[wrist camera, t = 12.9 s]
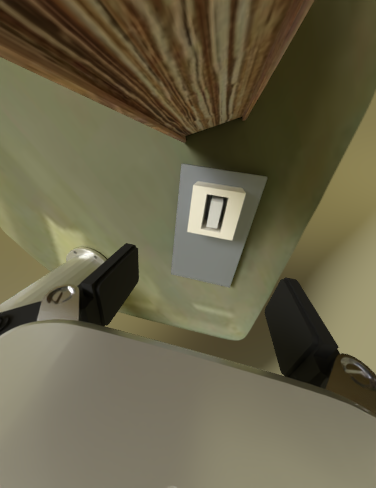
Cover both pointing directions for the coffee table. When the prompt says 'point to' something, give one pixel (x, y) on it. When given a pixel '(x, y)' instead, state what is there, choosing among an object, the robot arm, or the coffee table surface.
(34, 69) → the book
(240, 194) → the collar
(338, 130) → the coffee table surface
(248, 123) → the coffee table surface
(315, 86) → the coffee table surface
